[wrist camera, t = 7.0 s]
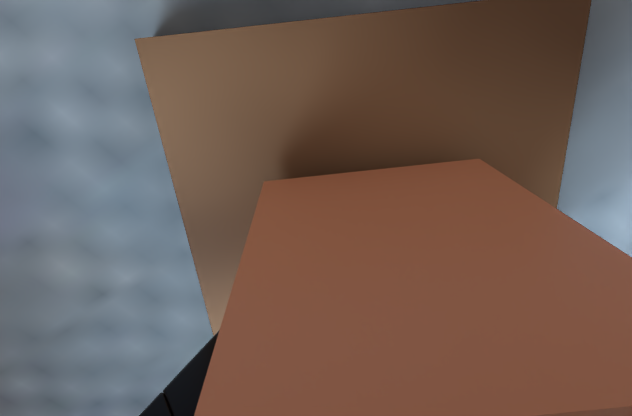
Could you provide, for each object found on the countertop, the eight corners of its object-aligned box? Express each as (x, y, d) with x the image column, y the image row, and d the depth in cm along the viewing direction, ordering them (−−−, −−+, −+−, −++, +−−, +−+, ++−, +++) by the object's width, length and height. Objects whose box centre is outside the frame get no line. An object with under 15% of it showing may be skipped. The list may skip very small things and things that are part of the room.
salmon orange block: (467, 329, 11) (661, 668, 5) (291, 346, 11) (275, 701, 5) (479, 158, 9) (830, 386, 3) (263, 181, 9) (183, 447, 3)
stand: (511, 367, 14) (691, 647, 7) (240, 393, 14) (185, 690, 8) (564, -7, 9) (1199, -132, 3) (151, 39, 9) (-203, 28, 3)
